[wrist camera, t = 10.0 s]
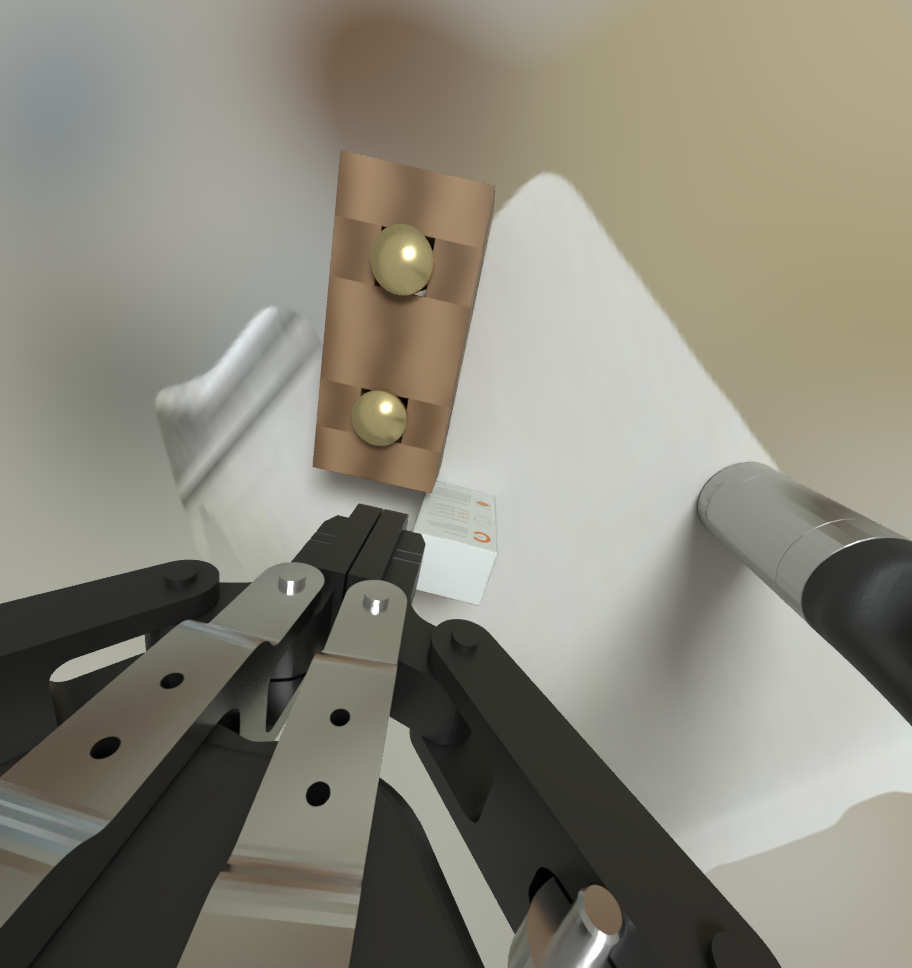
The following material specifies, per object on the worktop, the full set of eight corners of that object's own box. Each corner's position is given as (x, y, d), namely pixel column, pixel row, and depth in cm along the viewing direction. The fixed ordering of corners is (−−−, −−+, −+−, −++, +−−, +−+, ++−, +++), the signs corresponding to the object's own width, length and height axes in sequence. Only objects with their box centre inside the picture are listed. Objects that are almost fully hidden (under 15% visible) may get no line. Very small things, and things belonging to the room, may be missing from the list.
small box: (418, 524, 52) (397, 586, 40) (430, 478, 50) (411, 529, 37) (482, 541, 52) (480, 608, 40) (496, 496, 50) (499, 552, 38)
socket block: (493, 211, 39) (494, 185, 32) (440, 467, 49) (431, 493, 41) (368, 182, 39) (340, 150, 32) (339, 444, 49) (312, 466, 41)
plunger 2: (423, 384, 45) (410, 398, 37) (415, 429, 47) (401, 451, 39) (378, 374, 45) (354, 385, 37) (371, 419, 47) (348, 439, 39)
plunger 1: (448, 249, 40) (438, 231, 32) (438, 305, 42) (426, 301, 34) (396, 237, 40) (374, 217, 32) (389, 293, 42) (366, 287, 34)
